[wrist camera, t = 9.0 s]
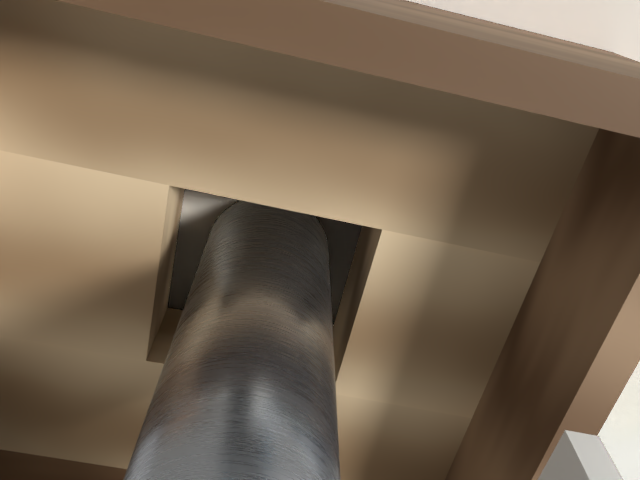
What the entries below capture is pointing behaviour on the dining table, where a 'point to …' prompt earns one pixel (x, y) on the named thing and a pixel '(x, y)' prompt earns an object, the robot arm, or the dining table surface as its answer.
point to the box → (324, 201)
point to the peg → (249, 360)
